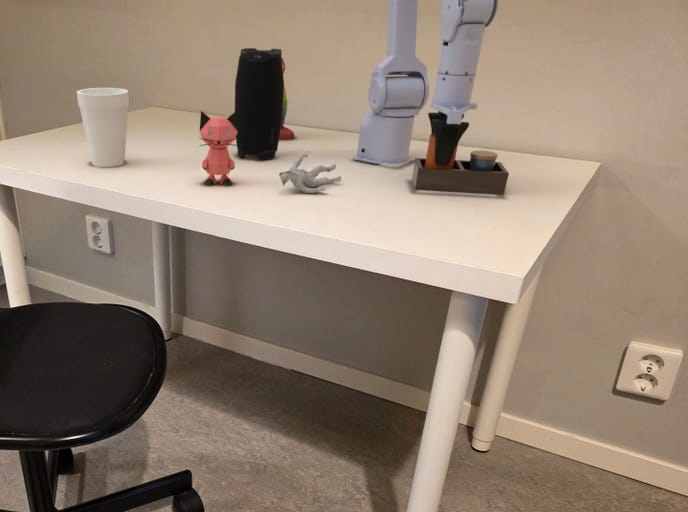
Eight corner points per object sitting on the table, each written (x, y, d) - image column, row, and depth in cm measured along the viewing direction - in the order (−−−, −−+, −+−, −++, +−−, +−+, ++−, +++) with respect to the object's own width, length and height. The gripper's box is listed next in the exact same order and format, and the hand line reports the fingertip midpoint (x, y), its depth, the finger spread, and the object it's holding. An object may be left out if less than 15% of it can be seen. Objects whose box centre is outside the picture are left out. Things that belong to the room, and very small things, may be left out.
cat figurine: (197, 187, 110) (197, 114, 103) (198, 177, 115) (197, 106, 109) (239, 187, 110) (240, 114, 103) (237, 177, 115) (239, 107, 109)
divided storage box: (411, 181, 113) (415, 157, 111) (495, 186, 111) (500, 162, 109) (414, 193, 107) (418, 168, 105) (503, 198, 105) (509, 173, 103)
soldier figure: (348, 193, 110) (308, 184, 102) (326, 208, 113) (286, 200, 105) (332, 155, 112) (292, 142, 103) (311, 170, 115) (270, 159, 106)
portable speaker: (228, 152, 132) (230, 48, 122) (271, 150, 134) (277, 47, 124) (240, 162, 125) (243, 51, 115) (286, 159, 127) (292, 50, 117)
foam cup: (141, 160, 126) (137, 89, 119) (116, 171, 119) (110, 96, 112) (100, 155, 130) (94, 86, 123) (74, 165, 122) (66, 93, 116)
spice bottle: (418, 177, 109) (427, 125, 104) (430, 172, 111) (439, 121, 107) (444, 182, 106) (454, 129, 102) (455, 177, 109) (466, 125, 104)
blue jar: (459, 187, 108) (466, 153, 105) (469, 182, 111) (476, 149, 108) (484, 192, 106) (492, 157, 103) (493, 186, 108) (501, 153, 105)
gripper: (490, 80, 93) (471, 173, 100) (476, 68, 106) (459, 152, 113) (440, 78, 95) (424, 171, 102) (432, 67, 107) (418, 150, 114)
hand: (440, 161), depth 107 cm, fingers closed on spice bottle, 5 cm apart
